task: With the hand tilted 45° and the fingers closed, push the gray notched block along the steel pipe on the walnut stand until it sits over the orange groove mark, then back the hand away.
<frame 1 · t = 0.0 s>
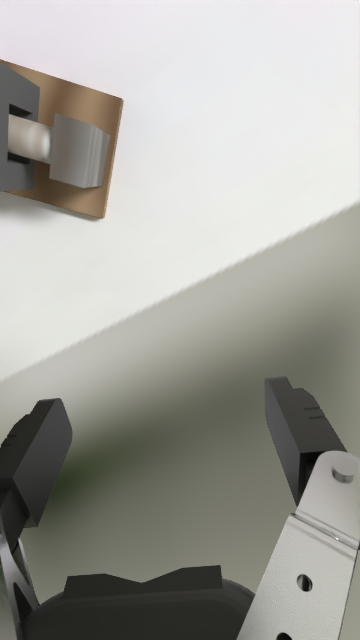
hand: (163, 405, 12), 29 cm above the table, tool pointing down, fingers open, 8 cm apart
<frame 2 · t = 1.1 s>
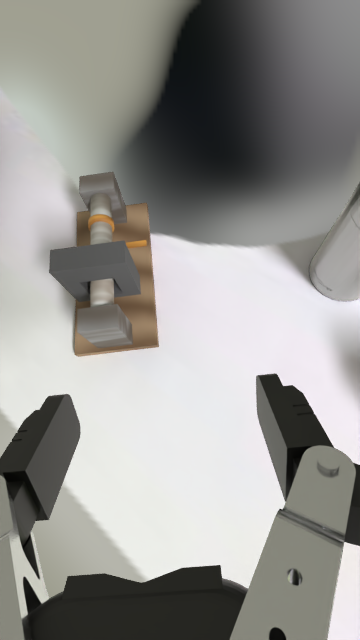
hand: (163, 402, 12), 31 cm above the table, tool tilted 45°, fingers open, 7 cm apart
gray notched block: (99, 274, 41), point 8 cm above the table, slide at -4.0 cm
pipe stand: (115, 275, 49), on the table
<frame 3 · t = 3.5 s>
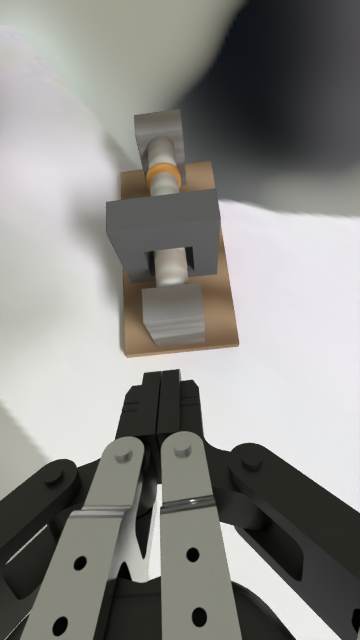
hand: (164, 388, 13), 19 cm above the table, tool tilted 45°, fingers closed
gray notched block: (168, 242, 29), point 8 cm above the table, slide at -4.0 cm
pipe stand: (173, 252, 38), on the table
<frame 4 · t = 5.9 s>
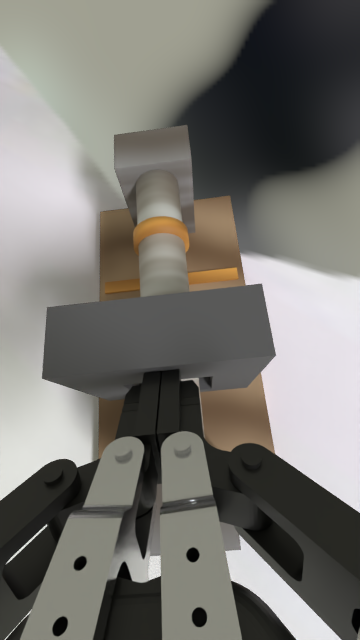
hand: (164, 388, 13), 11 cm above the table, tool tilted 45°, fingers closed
gray notched block: (167, 355, 16), point 8 cm above the table, slide at -3.5 cm, touching gripper
pipe stand: (176, 337, 25), on the table
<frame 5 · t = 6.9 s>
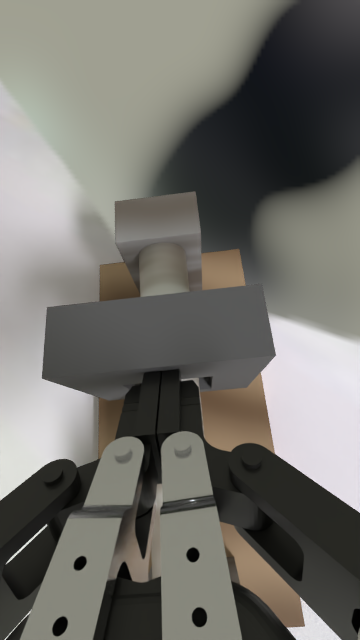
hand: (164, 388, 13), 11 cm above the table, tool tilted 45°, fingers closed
gray notched block: (167, 355, 16), point 8 cm above the table, slide at 2.2 cm, touching gripper
pipe stand: (182, 409, 23), on the table
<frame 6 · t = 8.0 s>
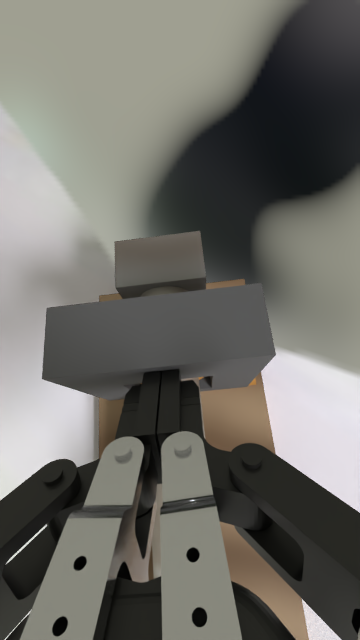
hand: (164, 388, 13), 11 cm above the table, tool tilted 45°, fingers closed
gray notched block: (167, 355, 16), point 8 cm above the table, slide at 5.1 cm, touching gripper
pipe stand: (186, 450, 22), on the table
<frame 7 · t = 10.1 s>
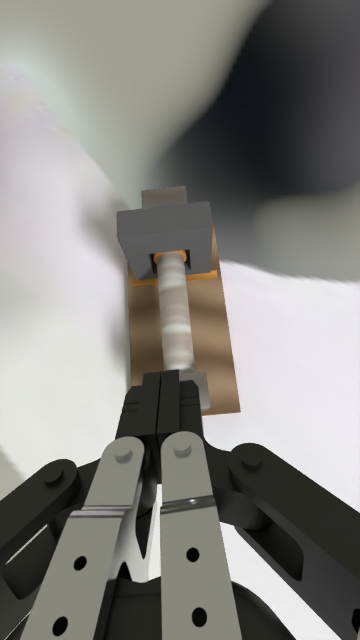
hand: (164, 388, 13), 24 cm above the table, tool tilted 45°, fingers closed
gray notched block: (168, 245, 34), point 8 cm above the table, slide at 5.1 cm
pipe stand: (177, 314, 39), on the table
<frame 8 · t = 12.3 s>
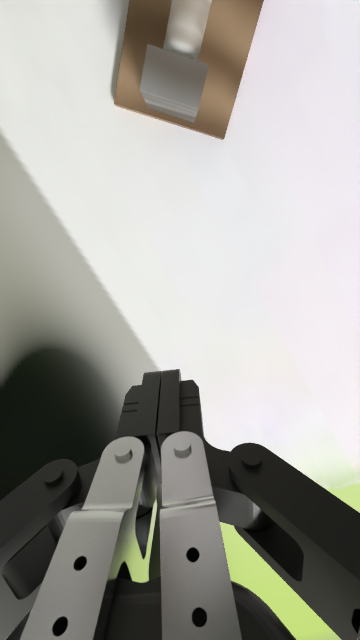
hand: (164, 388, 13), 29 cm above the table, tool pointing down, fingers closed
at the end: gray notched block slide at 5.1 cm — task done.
